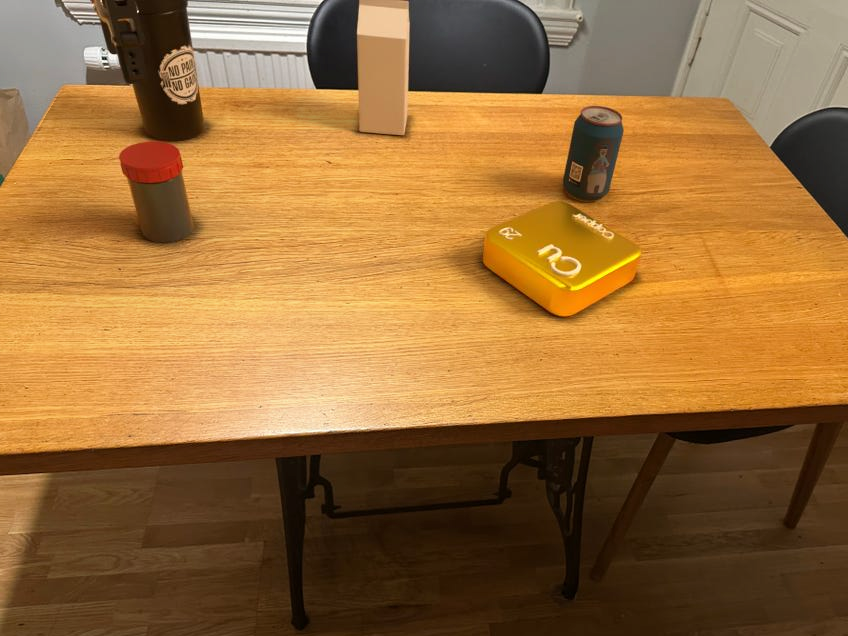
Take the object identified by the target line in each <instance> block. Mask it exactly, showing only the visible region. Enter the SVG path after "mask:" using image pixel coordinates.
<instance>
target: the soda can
mask: <svg viewBox="0 0 848 636" xmlns="http://www.w3.org/2000/svg"><path fill="white" fill-rule="evenodd" d="M624 130H625V129H624V126H623V116H622V114H621V113H620V112H619V111H618V110H616V109H613V108H610V107H607V106H602V105H588V106H585V107H583V108H582V109H581V110H580V114H579V115H578V116H577V118H576V119H575V120H574V122H573V127H572V134H571V138H570V143H569V148H568V152H567V158H566V164H565V168H564V174H563V178H562V184H563V187H564V189H565V192H566V194H567V195H568V196H569V197H570V198H572V199H573V200H575V201H578V202H582V203H595V202H599V201H601V200H602V199H603V198H604V197H605V196H606V195H607V194H608V193H609V191H610V189H611V186H612V185H611V184H612V181H613V176H614V172H615V169H616V164H617V160H618V155H619V152H620V149H621V144H622V140H623V136H624V132H625V131H624Z"/></svg>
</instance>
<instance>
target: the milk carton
mask: <svg viewBox="0 0 848 636" xmlns="http://www.w3.org/2000/svg"><path fill="white" fill-rule="evenodd" d="M409 4H410V3H409V1H408V0H358V16H357V18H358V19H357V29H356V48H357V49H356V51H357V86H358V87H357V88H358V89H357V91H358V119H359V120H358V123H359V124H358V127H359V128H358V129H359V132H361V133H370V134H382V135H383V134H384V135H394V136H404V135H405V132H406V127H407V126H406V125H407V122H408V121H407V120H408V110H409V109H408V108H409V106H408V105H409V68H410V67H409V66H410V25H411V23H410V10H409V7H410V5H409Z"/></svg>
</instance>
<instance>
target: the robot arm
mask: <svg viewBox="0 0 848 636" xmlns="http://www.w3.org/2000/svg"><path fill="white" fill-rule="evenodd" d="M89 2H91V4H93V7H92V8H93V11H94V12H95V13H96V16H98V19H99V23H100V27H101V30H102V34H103V38H104V42H105V45H106V49H107V51H108V53H109V54H111V55H113V56H115V55H117V59H118V62H119V67H120V71H121V74H122V78H123V80H124V82H125V83H126V84H127V85H132V84H136V83H144V82H146V81H147V80H148V76H147V72H146V67H145V63H144V59H143V54H142V50H141V46H140V44H145V42H144V40H145V37H144V34H143V33H142V29H141V24H140V20H139V16H138V8H137V5H136V2H135V0H89ZM124 20H126V21H128V22H129V23H130V26H131V29H132V31H126V28H125V24H124Z"/></svg>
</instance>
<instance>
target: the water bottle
mask: <svg viewBox="0 0 848 636" xmlns="http://www.w3.org/2000/svg"><path fill="white" fill-rule="evenodd" d="M135 2H136V5H137V8H138V16H139V20H140V24H141V29H142V33H143V34H144V37H145V40H144V42H145V44H140V46H141V50H142V54H143V59H144V63H145V67H146V72H147V76H148V80H147V81H146V82H144V83H136V84H131V85H132V89H133V92H134V96H135V99H136V103H137V106H138V110H139V113H140V117H141V122H142V125H143V128H144V132H145V134H146V135H147V136H148V137H150V138H151V139H155V140H158V141H161V142H182V141H187V140H190V139H194V138H196V137H198V136H200V135H201V134H203V132H204V131H205V129H206V127H205V126H206V125H205V120H204V113H203V105H202V101H201V94H200V87H199V86H200V85H199V79H198V73H197V65H196V59H195V52H194V46H193V40H192V35H191V27H190V20H189V14H188V8H187V7H188V5H189V3H188V2H189V0H135ZM124 24H125V28H126V31H132V29H131V26H130V23H129V22H128V21H126V20H124Z"/></svg>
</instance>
